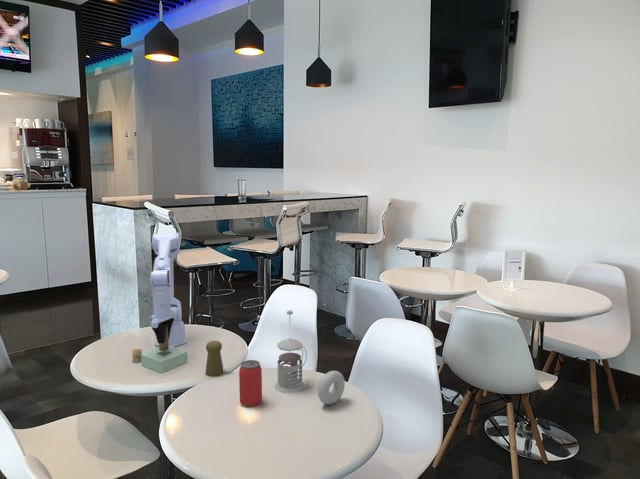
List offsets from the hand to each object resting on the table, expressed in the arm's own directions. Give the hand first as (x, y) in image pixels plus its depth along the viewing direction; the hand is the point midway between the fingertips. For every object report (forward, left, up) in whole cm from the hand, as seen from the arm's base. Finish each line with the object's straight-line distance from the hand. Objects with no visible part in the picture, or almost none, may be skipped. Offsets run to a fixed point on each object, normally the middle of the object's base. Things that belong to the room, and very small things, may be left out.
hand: (163, 341), depth 164 cm
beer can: (+3, +44, -9) cm, 45 cm away
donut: (-10, +64, -9) cm, 65 cm away
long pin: (0, 0, -3) cm, 3 cm away
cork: (-5, +20, -9) cm, 22 cm away
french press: (-13, +47, -9) cm, 50 cm away
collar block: (0, 0, -8) cm, 8 cm away
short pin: (+4, -10, -8) cm, 14 cm away
